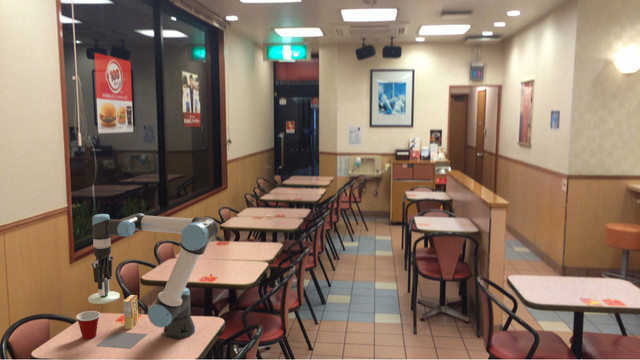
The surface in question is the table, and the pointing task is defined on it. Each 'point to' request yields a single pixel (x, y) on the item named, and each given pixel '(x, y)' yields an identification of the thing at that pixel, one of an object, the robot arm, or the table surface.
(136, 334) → the mat
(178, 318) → the robot arm
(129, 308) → the candy box
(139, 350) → the table surface
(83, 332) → the plastic cup
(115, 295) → the lid
